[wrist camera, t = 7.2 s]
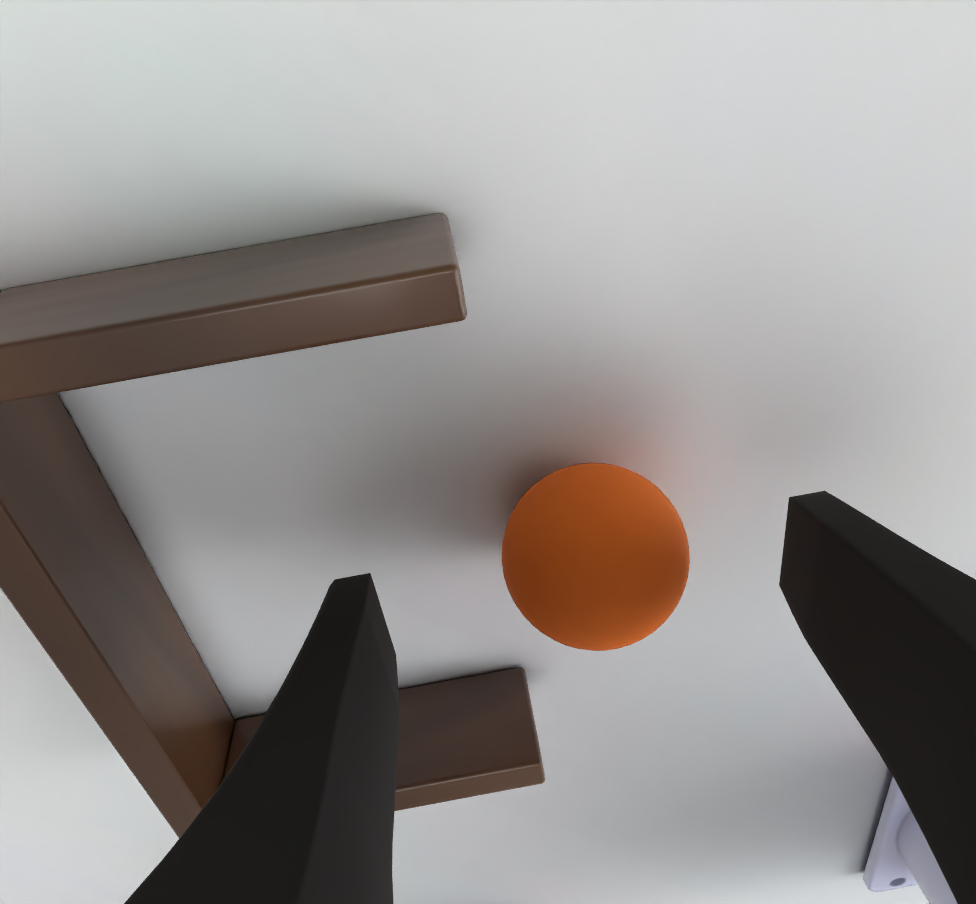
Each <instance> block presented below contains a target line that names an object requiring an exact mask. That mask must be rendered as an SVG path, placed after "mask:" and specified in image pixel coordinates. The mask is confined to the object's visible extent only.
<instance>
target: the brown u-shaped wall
mask: <svg viewBox="0 0 976 904" xmlns="http://www.w3.org/2000/svg"><path fill="white" fill-rule="evenodd" d="M466 315H467V310H466V304H465V298H464V292H463V286H462V281H461V275H460V269H459V264H458V260H457V256H456V252H455V247H454V243H453V239H452V235H451V230H450V226H449V222H448V218H447V216H446V215H445V214H442V213H438V214H432V215H426V216H421V217H415V218H409V219H404V220H398V221H392V222H386V223H381V224H375V225H369V226H364V227H358V228H352V229H347V230H341V231H335V232H329V233H324V234H318V235H312V236H307V237H301V238H295V239H289V240H284V241H278V242H272V243H267V244H261V245H255V246H249V247H244V248H238V249H232V250H227V251H221V252H215V253H210V254H204V255H198V256H192V257H187V258H181V259H175V260H170V261H164V262H158V263H152V264H147V265H141V266H135V267H130V268H124V269H118V270H112V271H107V272H101V273H95V274H90V275H84V276H78V277H72V278H67V279H61V280H55V281H50V282H44V283H38V284H33V285H27V286H21V287H15V288H10V289H5V290H4V291H1V290H0V588H1V589H2V591H3V592H4V593H5V595H6V596H7V598H8V599H9V600H10V602H11V603H12V605H13V606H14V607H15V609H16V610H17V612H18V613H19V614H20V616H21V617H22V619H23V620H24V621H25V623H26V624H27V626H28V627H29V628H30V630H31V631H32V633H33V634H34V635H35V637H36V638H37V640H38V641H39V642H40V644H41V645H42V647H43V648H44V649H45V651H46V652H47V654H48V655H49V656H50V658H51V659H52V661H53V662H54V663H55V665H56V666H57V668H58V669H59V670H60V672H61V673H62V675H63V676H64V677H65V679H66V680H67V682H68V683H69V684H70V686H71V687H72V689H73V690H74V691H75V693H76V694H77V696H78V697H79V698H80V700H81V701H82V703H83V704H84V705H85V707H86V708H87V710H88V711H89V712H90V714H91V715H92V717H93V718H94V719H95V721H96V722H97V724H98V725H99V726H100V728H101V729H102V731H103V732H104V734H105V735H106V736H107V738H108V739H109V741H110V742H111V743H112V745H113V746H114V748H115V749H116V750H117V752H118V753H119V755H120V756H121V757H122V759H123V760H124V762H125V763H126V764H127V766H128V767H129V769H130V770H131V771H132V773H133V774H134V776H135V777H136V778H137V780H138V781H139V783H140V784H141V785H142V787H143V788H144V790H145V791H146V792H147V794H148V795H149V797H150V798H151V799H152V801H153V802H154V804H155V805H156V806H157V808H158V809H159V811H160V812H161V813H162V815H163V816H164V818H165V819H166V820H167V822H168V823H169V825H170V826H171V827H172V829H173V830H174V832H175V833H176V834H177V836H178V837H179V839H180V837H181V836H182V835H183V834H184V832H185V831H186V830H187V828H188V827H189V826H190V824H191V823H192V822H193V820H194V819H195V818H196V816H197V815H198V814H199V813H200V811H201V810H202V809H203V807H204V806H205V805H206V803H207V802H208V801H209V799H210V798H211V797H212V795H213V794H214V793H215V791H216V790H217V788H218V787H219V785H220V784H221V783H222V781H223V780H224V778H225V777H226V775H227V774H228V773H229V771H230V770H231V768H232V767H233V765H234V764H235V762H236V761H237V759H238V758H239V756H240V755H241V753H242V752H243V750H244V748H245V747H246V745H247V744H248V742H249V741H250V739H251V738H252V736H253V734H254V733H255V731H256V729H257V728H258V726H259V724H260V722H261V721H262V719H263V717H264V716H265V715H260V716H255V717H249V718H244V719H239V720H237V721H236V722H235V721H234V719H233V717H232V716H231V714H230V712H229V710H228V708H227V706H226V704H225V703H224V701H223V699H222V697H221V695H220V693H219V692H218V690H217V688H216V686H215V684H214V682H213V680H212V679H211V677H210V675H209V673H208V671H207V669H206V668H205V666H204V664H203V662H202V660H201V658H200V656H199V655H198V653H197V651H196V649H195V647H194V645H193V644H192V642H191V640H190V638H189V636H188V634H187V632H186V631H185V629H184V627H183V625H182V623H181V621H180V620H179V618H178V616H177V614H176V612H175V610H174V608H173V607H172V605H171V603H170V601H169V599H168V597H167V596H166V594H165V592H164V590H163V588H162V586H161V584H160V583H159V581H158V579H157V577H156V575H155V573H154V572H153V570H152V568H151V566H150V564H149V562H148V560H147V559H146V557H145V555H144V553H143V551H142V549H141V547H140V546H139V544H138V542H137V540H136V538H135V536H134V535H133V533H132V531H131V529H130V527H129V525H128V523H127V522H126V520H125V518H124V516H123V514H122V512H121V511H120V509H119V507H118V505H117V503H116V501H115V499H114V498H113V496H112V494H111V492H110V490H109V488H108V487H107V485H106V483H105V481H104V479H103V477H102V475H101V474H100V472H99V470H98V468H97V466H96V464H95V463H94V461H93V459H92V457H91V455H90V453H89V451H88V450H87V448H86V446H85V444H84V442H83V440H82V439H81V437H80V435H79V433H78V431H77V429H76V427H75V426H74V424H73V422H72V420H71V418H70V416H69V415H68V413H67V411H66V409H65V407H64V405H63V403H62V402H61V400H60V398H59V396H58V394H57V392H63V391H69V390H74V389H80V388H85V387H91V386H97V385H102V384H108V383H114V382H119V381H125V380H131V379H136V378H142V377H147V376H153V375H159V374H164V373H170V372H176V371H181V370H187V369H193V368H198V367H204V366H209V365H215V364H221V363H226V362H232V361H238V360H243V359H249V358H255V357H260V356H266V355H271V354H277V353H283V352H288V351H294V350H300V349H305V348H311V347H316V346H322V345H328V344H333V343H339V342H345V341H350V340H356V339H362V338H367V337H373V336H378V335H384V334H390V333H395V332H401V331H407V330H412V329H418V328H424V327H429V326H435V325H440V324H446V323H452V322H457V321H462V320H464V319H465V318H466ZM398 694H399V732H398V752H397V770H396V788H395V806H394V811H398V810H403V809H408V808H414V807H419V806H424V805H430V804H435V803H440V802H446V801H451V800H456V799H462V798H467V797H472V796H478V795H483V794H488V793H494V792H499V791H504V790H510V789H515V788H520V787H526V786H531V785H536V784H542V783H543V782H544V781H545V775H544V769H543V763H542V757H541V752H540V747H539V742H538V737H537V731H536V726H535V721H534V716H533V711H532V705H531V700H530V695H529V690H528V685H527V679H526V674H525V670H524V669H523V668H521V667H520V668H514V669H509V670H503V671H498V672H493V673H487V674H482V675H476V676H471V677H466V678H460V679H455V680H449V681H444V682H439V683H433V684H428V685H422V686H417V687H412V688H406V689H401V690H398Z"/></svg>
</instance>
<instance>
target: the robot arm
mask: <svg viewBox="0 0 976 904" xmlns="http://www.w3.org/2000/svg"><path fill="white" fill-rule="evenodd" d="M779 585H780V588H781V590H782V592H783V594H784V596H785V599H786V601H787V603H788V605H789V607H790V609H791V612H792V614H793V616H794V618H795V620H796V622H797V624H798V626H799V628H800V630H801V632H802V634H803V636H804V638H805V639H806V641H807V643H808V644H809V646H810V647H811V649H812V651H813V652H814V654H815V655H816V657H817V658H818V660H819V662H820V663H821V665H822V666H823V668H824V669H825V671H826V672H827V674H828V676H829V677H830V679H831V680H832V682H833V683H834V685H835V686H836V688H837V689H838V691H839V692H840V694H841V695H842V697H843V699H844V700H845V702H846V703H847V705H848V706H849V708H850V709H851V711H852V712H853V714H854V715H855V717H856V718H857V720H858V721H859V723H860V725H861V726H862V728H863V729H864V731H865V732H866V734H867V735H868V737H869V738H870V740H871V741H872V743H873V744H874V746H875V748H876V749H877V751H878V752H879V754H880V756H881V757H882V759H883V761H884V762H885V764H886V766H887V767H888V769H889V771H890V772H891V774H892V776H893V777H892V780H891V784H890V787H889V790H888V794H887V797H886V801H885V804H884V807H883V811H882V814H881V818H880V821H879V824H878V828H877V831H876V835H875V838H874V841H873V845H872V848H871V851H870V855H869V858H868V862H867V865H866V868H865V872H864V875H863V880H864V882H865V884H866V886H867V888H868V889H869V890H871V891H874V892H880V891H886V890H891V889H896V888H901V887H907V886H912V885H917V884H918V885H919V887H920V888H921V890H922V892H923V893H924V895H925V897H926V899H927V900H928V902H929V904H976V580H975V579H973V578H972V577H970V576H968V575H966V574H964V573H963V572H961V571H959V570H957V569H955V568H954V567H952V566H950V565H948V564H946V563H945V562H943V561H941V560H939V559H938V558H936V557H934V556H932V555H931V554H929V553H927V552H926V551H924V550H922V549H921V548H919V547H917V546H915V545H914V544H912V543H910V542H909V541H907V540H905V539H904V538H902V537H900V536H899V535H897V534H895V533H894V532H892V531H891V530H889V529H887V528H886V527H884V526H882V525H881V524H879V523H877V522H876V521H874V520H872V519H871V518H869V517H868V516H866V515H864V514H863V513H861V512H859V511H858V510H856V509H854V508H853V507H851V506H850V505H848V504H846V503H845V502H843V501H841V500H839V499H838V498H836V497H834V496H833V495H831V494H829V493H827V492H825V491H821V492H816V493H810V494H805V495H799V496H794V497H789V503H788V512H787V521H786V530H785V539H784V548H783V557H782V565H781V574H780V583H779ZM398 732H399V694H398V677H397V662H396V653H395V650H394V647H393V644H392V641H391V637H390V634H389V631H388V628H387V625H386V621H385V618H384V615H383V612H382V609H381V606H380V602H379V599H378V596H377V593H376V590H375V586H374V583H373V580H372V577H371V574H370V573H368V574H363V575H357V576H352V577H346V578H341V579H335V580H334V581H333V582H332V584H331V585H330V587H329V589H328V591H327V594H326V596H325V598H324V601H323V603H322V605H321V608H320V610H319V612H318V614H317V617H316V619H315V621H314V623H313V625H312V627H311V629H310V631H309V634H308V636H307V638H306V640H305V642H304V644H303V646H302V648H301V650H300V652H299V654H298V656H297V658H296V660H295V662H294V663H293V665H292V667H291V669H290V671H289V673H288V675H287V677H286V679H285V681H284V683H283V685H282V686H281V688H280V690H279V692H278V694H277V695H276V697H275V699H274V700H273V702H272V704H271V705H270V707H269V709H268V711H267V712H266V714H265V716H264V717H263V719H262V721H261V722H260V724H259V726H258V728H257V729H256V731H255V733H254V734H253V736H252V738H251V739H250V741H249V742H248V744H247V745H246V747H245V748H244V750H243V752H242V753H241V755H240V756H239V758H238V759H237V761H236V762H235V764H234V765H233V767H232V768H231V770H230V771H229V773H228V774H227V775H226V777H225V778H224V780H223V781H222V783H221V784H220V785H219V787H218V788H217V790H216V791H215V793H214V794H213V795H212V797H211V798H210V799H209V801H208V802H207V803H206V805H205V806H204V807H203V809H202V810H201V811H200V813H199V814H198V815H197V816H196V818H195V819H194V820H193V822H192V823H191V824H190V826H189V827H188V828H187V830H186V831H185V832H184V834H183V835H182V836H181V837H180V839H179V840H178V841H177V842H176V844H175V845H174V846H173V847H172V849H171V850H170V851H169V852H168V854H167V855H166V856H165V857H164V858H163V860H162V861H161V862H160V863H159V864H158V866H157V867H156V868H155V869H154V870H153V871H152V872H151V873H150V875H149V876H148V877H147V878H146V879H145V880H144V881H143V883H142V884H141V885H140V886H139V887H138V888H137V889H136V891H135V892H134V893H133V894H132V895H131V896H130V897H129V899H128V900H127V901H126V902H125V903H124V904H393V884H392V842H393V824H394V806H395V788H396V770H397V752H398Z"/></svg>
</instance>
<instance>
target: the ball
mask: <svg viewBox="0 0 976 904" xmlns="http://www.w3.org/2000/svg"><path fill="white" fill-rule="evenodd" d="M689 562H690V561H689V546H688V540H687V535H686V532H685V529H684V526H683V523H682V521H681V519H680V517H679V515H678V513H677V511H676V509H675V508H674V506H673V505H672V503H671V502H670V501H669V499H668V498H667V497H666V496H665V495H664V494H663V493H662V492H661V491H660V490H659V489H658V488H657V487H656V486H655V485H654V484H652V483H651V482H650V481H649V480H647V479H645V478H644V477H642V476H640V475H639V474H637V473H634V472H632V471H630V470H628V469H625V468H622V467H619V466H615V465H610V464H603V463H585V464H577V465H573V466H569V467H566V468H562V469H560V470H557V471H555V472H553V473H551V474H549V475H547V476H546V477H544V478H543V479H541V480H540V481H538V482H537V483H535V484H534V485H533V486H532V487H531V488H530V489H529V490H528V491H527V492H526V493H525V494H524V495H523V496H522V498H521V499H520V500H519V502H518V503H517V505H516V506H515V508H514V510H513V512H512V514H511V516H510V518H509V520H508V523H507V526H506V529H505V532H504V537H503V542H502V566H503V573H504V578H505V581H506V584H507V587H508V590H509V592H510V594H511V596H512V598H513V600H514V602H515V604H516V606H517V607H518V608H519V610H520V611H521V613H522V614H523V615H524V617H525V618H526V619H527V620H528V621H529V622H530V623H531V624H532V625H533V626H534V627H535V628H537V629H538V630H539V631H540V632H542V633H543V634H545V635H547V636H548V637H550V638H552V639H553V640H555V641H557V642H559V643H562V644H564V645H567V646H570V647H574V648H577V649H585V650H593V651H600V650H611V649H617V648H621V647H624V646H628V645H631V644H633V643H635V642H638V641H640V640H642V639H643V638H645V637H647V636H648V635H650V634H651V633H653V632H654V631H655V630H656V629H657V628H659V627H660V626H661V625H662V624H663V623H664V622H665V621H666V620H667V619H668V617H669V616H670V615H671V613H672V612H673V611H674V609H675V608H676V606H677V604H678V602H679V600H680V598H681V596H682V594H683V591H684V588H685V586H686V582H687V578H688V571H689Z"/></svg>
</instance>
